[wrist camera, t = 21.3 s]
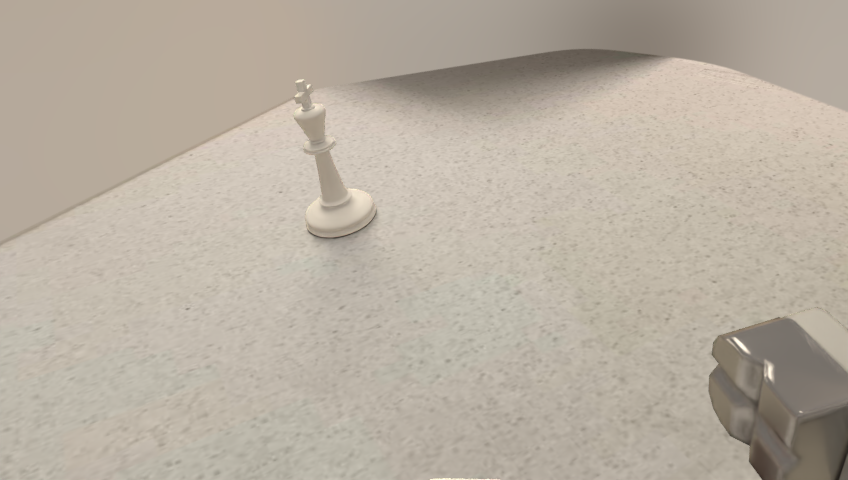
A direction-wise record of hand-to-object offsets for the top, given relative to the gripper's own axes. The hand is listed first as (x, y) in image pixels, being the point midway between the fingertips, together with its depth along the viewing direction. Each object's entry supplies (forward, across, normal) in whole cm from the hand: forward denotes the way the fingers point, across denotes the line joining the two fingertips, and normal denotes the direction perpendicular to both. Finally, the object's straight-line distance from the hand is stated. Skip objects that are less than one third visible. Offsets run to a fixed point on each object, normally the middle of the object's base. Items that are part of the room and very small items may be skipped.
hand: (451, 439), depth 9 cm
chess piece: (+32, +3, +16) cm, 36 cm away
